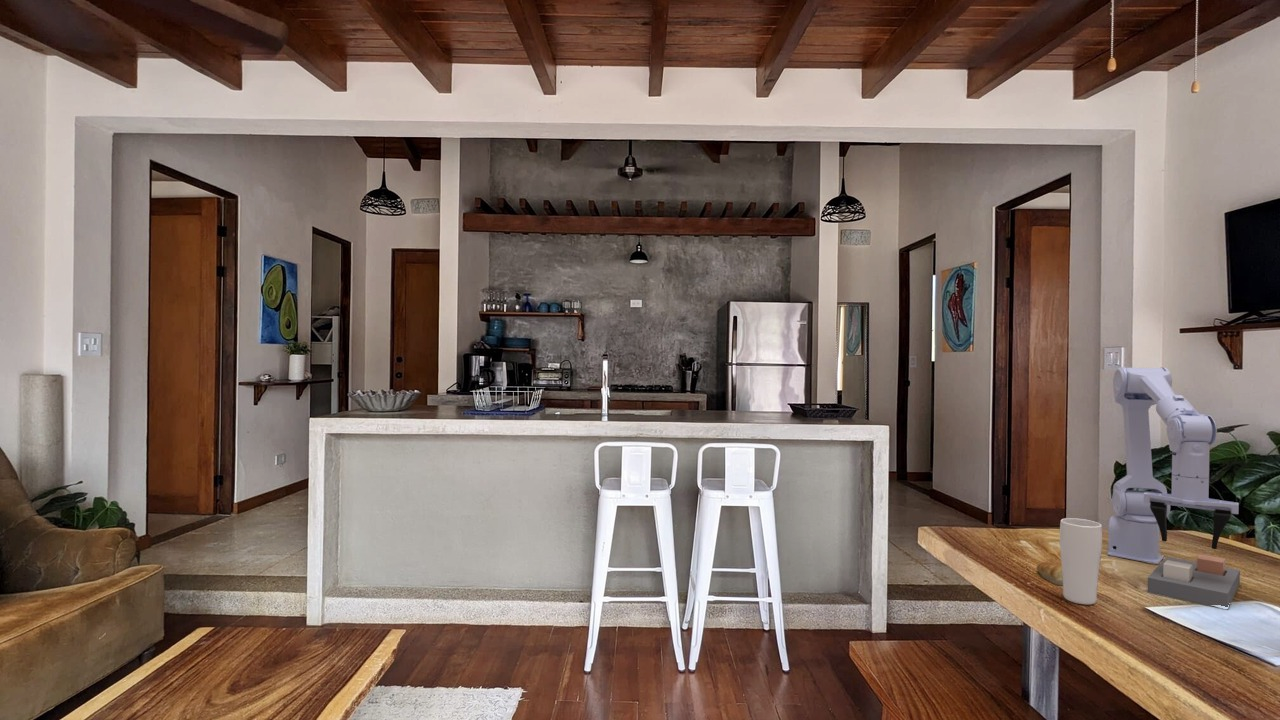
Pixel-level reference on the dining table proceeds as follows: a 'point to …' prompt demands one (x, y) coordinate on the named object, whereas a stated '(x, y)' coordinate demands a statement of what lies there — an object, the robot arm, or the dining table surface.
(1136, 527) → the robot arm
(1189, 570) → the white key
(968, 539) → the dining table surface
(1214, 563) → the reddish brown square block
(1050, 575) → the pastry
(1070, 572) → the drinking glass
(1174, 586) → the key panel
